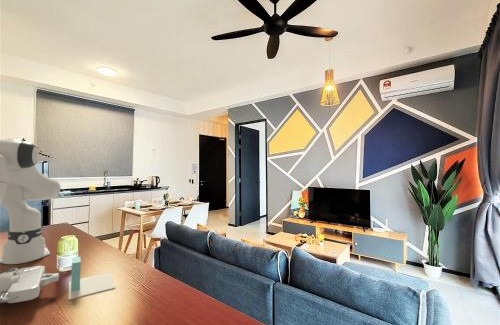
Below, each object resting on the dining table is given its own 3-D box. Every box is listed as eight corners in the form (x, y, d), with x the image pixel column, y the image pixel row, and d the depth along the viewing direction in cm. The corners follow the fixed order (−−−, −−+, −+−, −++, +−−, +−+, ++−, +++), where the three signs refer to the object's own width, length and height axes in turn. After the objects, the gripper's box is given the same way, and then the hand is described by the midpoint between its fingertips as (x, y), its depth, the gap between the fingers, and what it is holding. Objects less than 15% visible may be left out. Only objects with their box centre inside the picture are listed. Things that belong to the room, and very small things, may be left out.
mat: (69, 282, 93) (69, 281, 93) (110, 273, 101) (110, 272, 101) (68, 300, 81) (68, 298, 81) (115, 288, 89) (115, 287, 89)
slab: (71, 284, 91) (71, 258, 91) (79, 282, 92) (80, 256, 92) (70, 291, 86) (71, 263, 86) (79, 289, 87) (80, 261, 88)
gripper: (-4, 291, 70) (57, 279, 78) (12, 266, 86) (60, 258, 94) (-5, 313, 70) (56, 298, 78) (11, 284, 86) (60, 274, 94)
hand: (58, 276), depth 86 cm, fingers closed
